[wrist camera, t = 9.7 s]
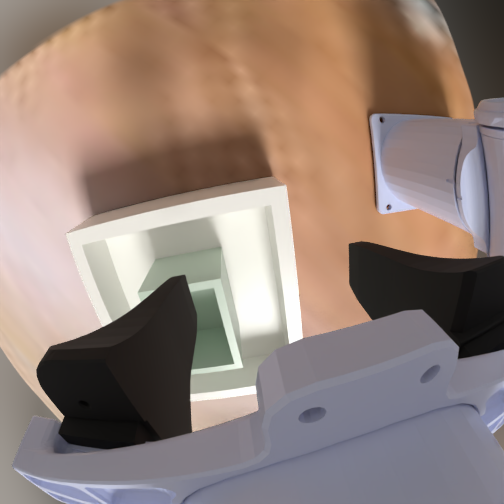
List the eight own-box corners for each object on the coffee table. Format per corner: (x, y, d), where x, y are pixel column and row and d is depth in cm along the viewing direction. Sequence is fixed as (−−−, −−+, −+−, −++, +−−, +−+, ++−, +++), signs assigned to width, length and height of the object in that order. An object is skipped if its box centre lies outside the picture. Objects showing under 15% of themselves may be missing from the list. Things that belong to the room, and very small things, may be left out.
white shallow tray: (273, 176, 20) (286, 185, 15) (294, 349, 26) (305, 383, 21) (93, 215, 19) (65, 233, 15) (154, 370, 25) (146, 403, 21)
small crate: (221, 246, 20) (220, 278, 15) (239, 325, 23) (243, 367, 18) (155, 259, 20) (137, 292, 15) (180, 334, 23) (173, 376, 18)
